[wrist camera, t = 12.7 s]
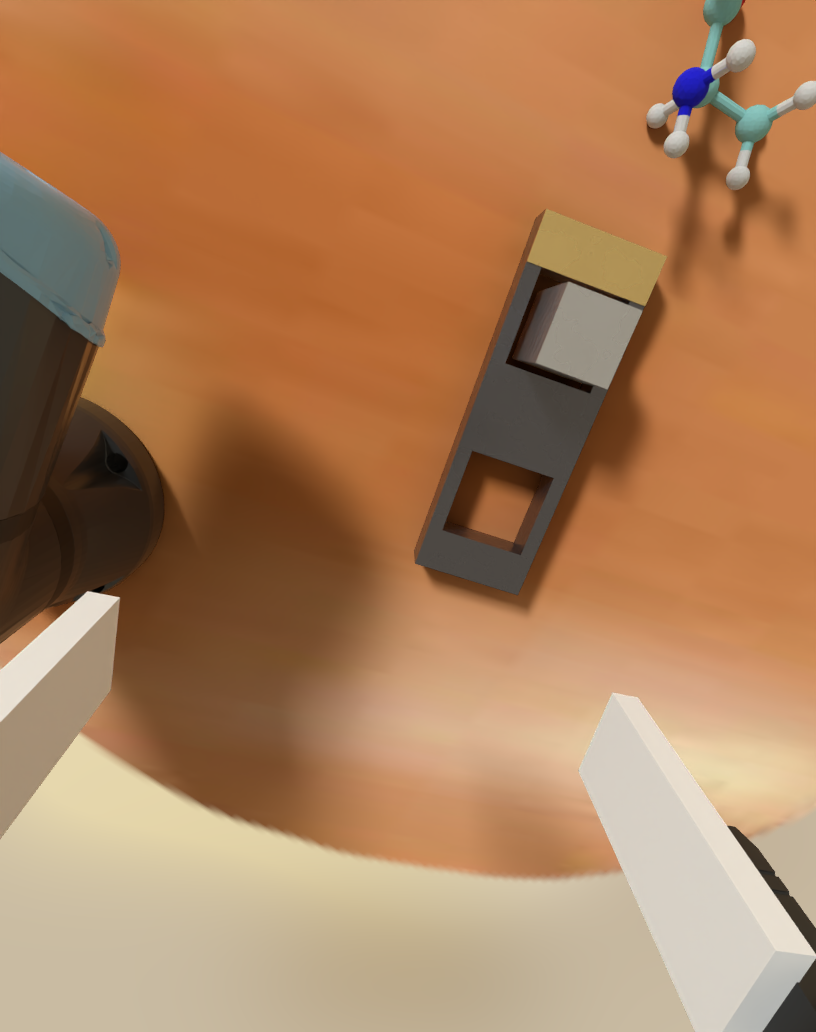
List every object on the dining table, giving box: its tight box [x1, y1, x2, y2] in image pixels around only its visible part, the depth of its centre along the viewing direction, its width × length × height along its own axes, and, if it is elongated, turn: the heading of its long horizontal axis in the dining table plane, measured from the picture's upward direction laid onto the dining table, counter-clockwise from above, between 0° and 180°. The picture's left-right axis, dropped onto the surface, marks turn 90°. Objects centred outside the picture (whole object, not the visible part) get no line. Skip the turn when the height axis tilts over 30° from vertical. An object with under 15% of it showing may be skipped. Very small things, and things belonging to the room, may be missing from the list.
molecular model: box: [646, 0, 816, 190], centre depth 30 cm, size 12×10×10 cm
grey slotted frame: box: [414, 209, 667, 595], centre depth 38 cm, size 8×24×3 cm, turn 161°
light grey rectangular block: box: [512, 282, 642, 389], centre depth 34 cm, size 4×4×7 cm
